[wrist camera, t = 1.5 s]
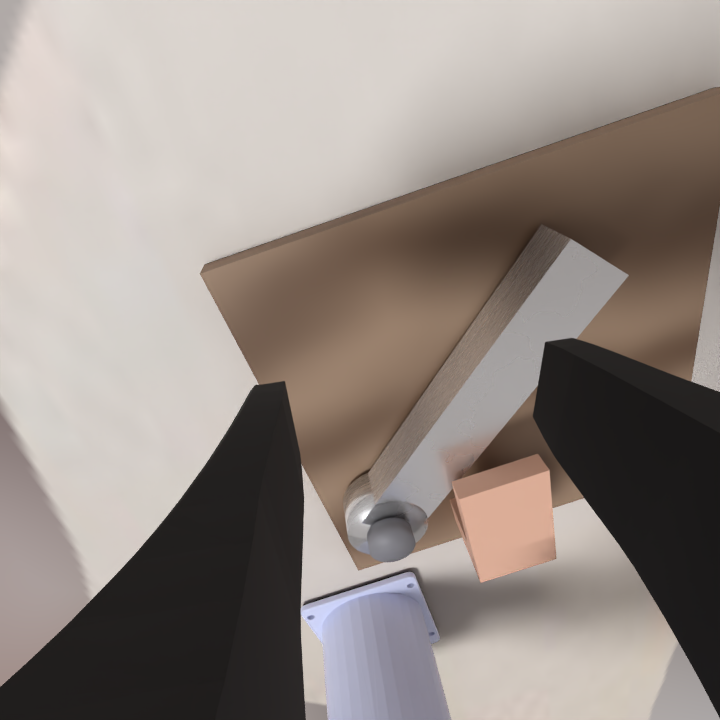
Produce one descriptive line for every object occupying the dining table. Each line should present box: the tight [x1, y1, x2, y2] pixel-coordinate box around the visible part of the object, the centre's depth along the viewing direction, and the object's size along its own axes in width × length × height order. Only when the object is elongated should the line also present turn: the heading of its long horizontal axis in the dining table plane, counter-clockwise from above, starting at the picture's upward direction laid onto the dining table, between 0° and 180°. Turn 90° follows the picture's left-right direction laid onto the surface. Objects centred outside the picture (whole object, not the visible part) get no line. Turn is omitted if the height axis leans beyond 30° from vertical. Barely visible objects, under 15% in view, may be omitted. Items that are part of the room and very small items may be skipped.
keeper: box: [367, 454, 556, 583], centre depth 22 cm, size 9×7×4 cm
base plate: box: [200, 87, 720, 570], centre depth 21 cm, size 20×20×1 cm
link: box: [343, 224, 629, 555], centre depth 19 cm, size 17×4×2 cm, turn 152°
